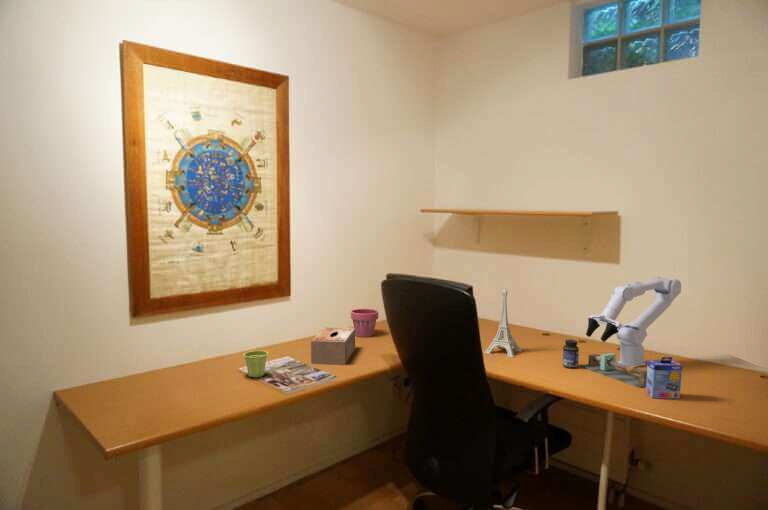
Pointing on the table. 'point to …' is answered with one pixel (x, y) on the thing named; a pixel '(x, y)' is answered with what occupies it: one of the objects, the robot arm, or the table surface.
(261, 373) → the plant pot
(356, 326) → the plant pot
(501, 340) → the eiffel tower
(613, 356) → the collar
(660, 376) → the ink cartridge box
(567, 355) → the pill bottle
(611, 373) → the rail stand
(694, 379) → the table surface
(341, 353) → the tissue box cover
